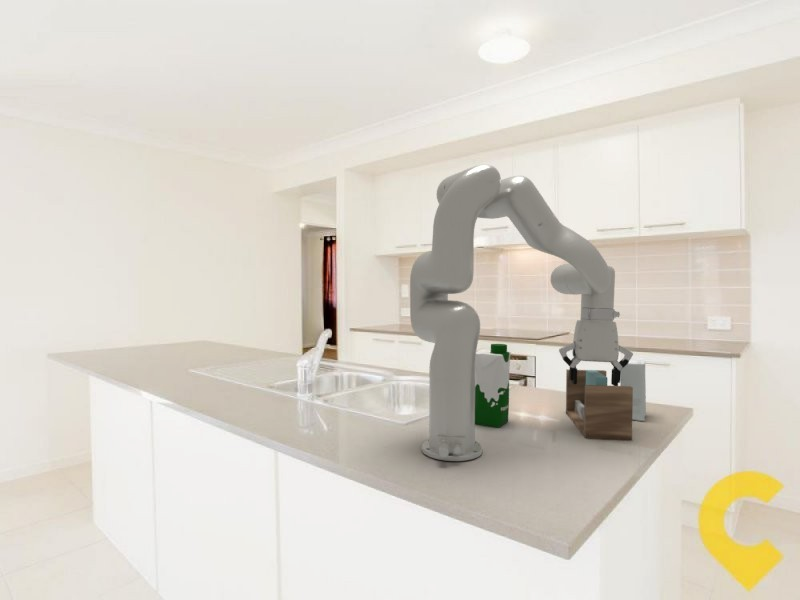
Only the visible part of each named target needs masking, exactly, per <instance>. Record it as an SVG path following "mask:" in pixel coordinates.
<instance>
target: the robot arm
mask: <svg viewBox="0 0 800 600" xmlns="http://www.w3.org/2000/svg"><path fill="white" fill-rule="evenodd" d="M436 200H437V202H438V206H437V207H436V211H435V214H434V218H433V224H432V225H433V226H432V227H433V228H432V241H431V242H432V243H431V244H432V245H431V246H432V247H431V250H428V251H426V252H424V253H422V254H420V255H419V256H418V257H417V258H416V259H415V261H414V262H413V265H412V266H411V271H410V277H409V279H410V280H409V299H410V301H409V314H410V316H409V317H410V324H411V328H412V330H413V333H414V334H415V335H416V336H417V337H418V338H419V339H421V340H422V341H425V342H428V343H432V344H434V346H433V350H432V353H431V357H430V360H429V369H428V370H429V373H428V374H429V376H428V377H429V387H428V388H429V395H428V396H429V408H428V409H429V411H428V412H429V413H428V414H429V415H428V416H429V417H428V419H429V420H428V421H429V422H428V423H429V424H428V425H429V427H428V429H429V430H428V431H429V433H428V434H429V436H428V439H426V440H425V441H423V442H422V443H421V451H422V454H424V455H425V456H427V457H429V458H431V459H435V460H439V461H446V462H465V461H470V460H474V459H477V458H478V457H480V456H481V455H482V453H483V446H482V445H481V443H479V442H478V441H476V424H475V360H476V352H477V351H478V350H477V348H478V343H479V339H480V333H481V332H480V331H481V320H480V317H479V315H478V312H477V311H476V310H475V308H474V307H472V306H471V305H470V304H468V303H466V302H463V301H461V300H460V301H459V300H449V295H457V294H461V293H464V292H466V291H467V290H468V289H470V288H471V286H472V283H473V281H474V280H473V279H474V271H475V270H474V268H475V267H474V264H475V263H474V262H475V261H474V256H475V255H474V248H475V247H474V240H475V239H474V237H475V227H476V223H477V220H478V219H490V220H493V219H495V220H496V219H499V218H500V219H501V218H505V217H507V218H508V219H509V220H510V222H511V223H512V225H513V226H514V227H515V228H516V230H517V231H518V232H519V234H520V235H521V236H522V238H523V239H524V241H525V242H526V244H527V245H528V246H529V247H530V248H532V249H535V250H536V251H540V252H541V253H545V254H548V255H551V256H555V257H557V258H560V259H561V260H563V261H565V262H566V263H565V264H564V263H562V264H561V265H558V266H556V267H555V268H554V270H552V272H551V274H550V284H551V286H552V288H553V289H554V290H555V291H557V292H558V293H560V294H564V295H574V296H575V295H576V296H577V295H580V298H581V299H580V318H579V319H577V320H576V322H575V326H574V332H573V333H574V334H573V340H572V341H573V342H572V343H569V344H568V345H565V346H563V347H560V348H559V349H558V353H559V355H560V357H561V358H562V360H563V361H564V362H565V363H566V365H568V366H569V369H568V370H569V380H571V382H572V383H573V384H577V370H578V368H577V365H579V364H580V363H581V362H598V363H610V364H611V366H612V367H613V368H612V369H611V376H610V377H611V379H610V381H611V383H610V385H611V386H619V384H621V383H620V373H621V370H622V369H623V368H624V367H625V366H626V365H627V364H628V363H629V360H632V357H633V356H634V353H633V352H632V351H630V350H628V349H626V348H625V347H622V346H621V345H619V334H618V327H617V323H616V321H614V320H615V318H619V317H620V316H621V315H620V311H616V310H615V308H614V306H615V286H616V285H615V283H616V280H615V279H616V271H615V269H614V268H613V267H612V266H610V265H608V264H607V262H606V260H605V259H604V257H603V255H602V254H601V252H600V251H599V249H597V247H596V246H595V245H594V244H593V243H592V242H590V240H588V239H587V238H586V237H583V236H582V235H580V234H579V233H577V232H575V231H574V230H573V229H570V228H569V227H567V226H565V225H564V224H563V223H561V222H560V220H559V219H558V218H557V216H556V215H555V213H554V212H553V211H552V209H551V208H550V206H549V205H548V203H547V202H546V200H545V198H544V197H543V196H542V194H541V192H540V191H539V190H538V188H537V186H536V185H535V184H534V183H533V181H532V180H531V179H530V178H529V177H527V176H524V175H514V176H509V177H506V178H502V177H501V174H500V172H499V170H498V169H497V168H496V167H495V166H493V165H490V164H478V165H474V166H472V167H469V168H467V169H464V170H461V171H459V172H457V173H454V174H451V175H449V176H447V177H445V178H444V179H442V180H441V182H440V183H439V184H438V186H437V189H436ZM570 351H572V356H573V357H572V358H571V359H570V358H569V356H568V354H567V353H568V352H570ZM619 353H621V354H623V358H621V359H620V360H619ZM618 360H619V361H618Z"/></svg>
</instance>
